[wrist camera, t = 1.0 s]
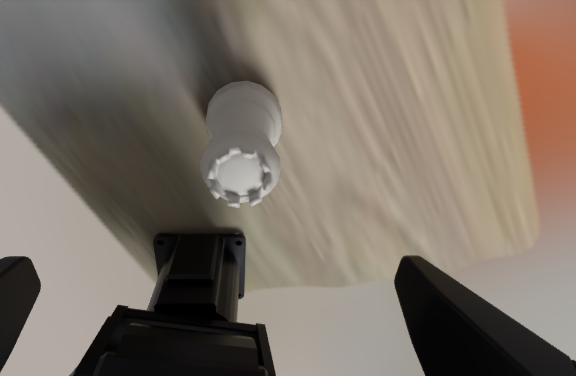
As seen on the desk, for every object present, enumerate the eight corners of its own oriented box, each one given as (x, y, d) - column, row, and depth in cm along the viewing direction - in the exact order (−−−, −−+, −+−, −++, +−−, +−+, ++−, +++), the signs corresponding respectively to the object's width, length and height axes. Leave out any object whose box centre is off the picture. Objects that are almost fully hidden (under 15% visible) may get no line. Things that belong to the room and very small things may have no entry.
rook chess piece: (196, 133, 19) (162, 204, 12) (225, 64, 17) (205, 100, 10) (262, 162, 20) (266, 240, 13) (295, 101, 18) (320, 155, 11)
